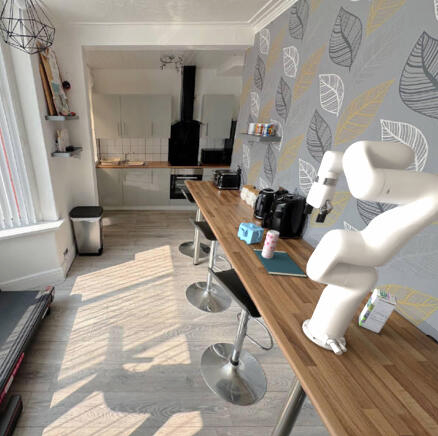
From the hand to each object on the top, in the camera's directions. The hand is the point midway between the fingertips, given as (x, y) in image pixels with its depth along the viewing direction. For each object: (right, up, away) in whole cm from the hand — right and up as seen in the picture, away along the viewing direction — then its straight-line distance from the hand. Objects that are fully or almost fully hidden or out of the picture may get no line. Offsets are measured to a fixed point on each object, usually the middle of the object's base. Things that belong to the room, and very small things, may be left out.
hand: (313, 218), depth 106 cm
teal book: (-5, -24, +21) cm, 32 cm away
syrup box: (+9, -41, -17) cm, 45 cm away
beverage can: (-8, -21, +25) cm, 34 cm away
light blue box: (-12, -14, +42) cm, 46 cm away
